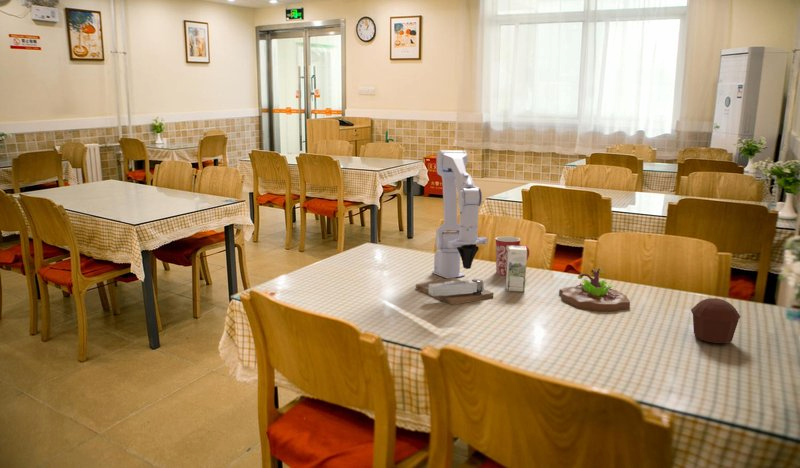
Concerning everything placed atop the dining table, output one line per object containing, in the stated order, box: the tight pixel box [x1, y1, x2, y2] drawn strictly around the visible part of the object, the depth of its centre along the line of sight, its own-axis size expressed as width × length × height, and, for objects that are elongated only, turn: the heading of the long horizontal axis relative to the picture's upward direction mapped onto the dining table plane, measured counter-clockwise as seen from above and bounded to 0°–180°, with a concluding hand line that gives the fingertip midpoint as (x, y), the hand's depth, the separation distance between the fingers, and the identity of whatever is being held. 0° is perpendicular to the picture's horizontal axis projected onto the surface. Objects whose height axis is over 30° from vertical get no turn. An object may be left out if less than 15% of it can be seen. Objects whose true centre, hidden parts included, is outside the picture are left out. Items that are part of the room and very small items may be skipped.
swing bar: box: [427, 278, 485, 297], centre depth 179 cm, size 18×4×3 cm, turn 111°
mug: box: [495, 236, 530, 277], centre depth 208 cm, size 13×9×14 cm
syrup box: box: [505, 245, 528, 293], centre depth 191 cm, size 6×6×14 cm
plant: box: [558, 267, 631, 312], centre depth 181 cm, size 20×20×11 cm
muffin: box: [690, 297, 742, 344], centre depth 151 cm, size 12×11×10 cm
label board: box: [415, 277, 494, 306], centre depth 187 cm, size 20×16×2 cm
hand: (466, 268), depth 185 cm, fingers closed
